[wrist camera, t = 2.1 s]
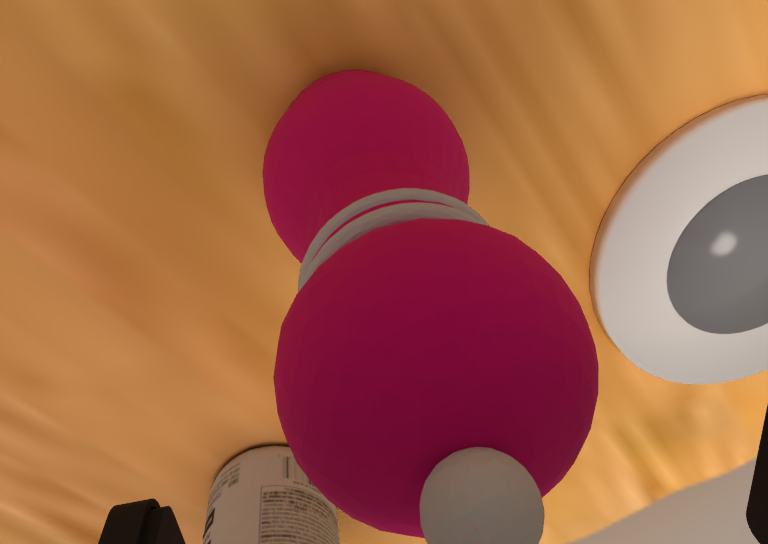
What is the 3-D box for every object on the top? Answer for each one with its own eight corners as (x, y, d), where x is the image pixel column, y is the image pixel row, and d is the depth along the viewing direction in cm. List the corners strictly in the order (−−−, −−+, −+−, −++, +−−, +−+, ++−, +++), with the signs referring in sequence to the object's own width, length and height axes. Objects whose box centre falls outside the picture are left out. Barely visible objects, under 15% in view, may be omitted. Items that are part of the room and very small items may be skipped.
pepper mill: (430, 228, 28) (674, 695, 10) (267, 226, 27) (229, 747, 9) (448, 60, 25) (850, 325, 7) (264, 51, 24) (195, 336, 6)
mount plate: (596, 120, 27) (610, 129, 25) (917, 70, 28) (946, 75, 26) (584, 392, 34) (595, 409, 32) (840, 344, 35) (861, 358, 33)
